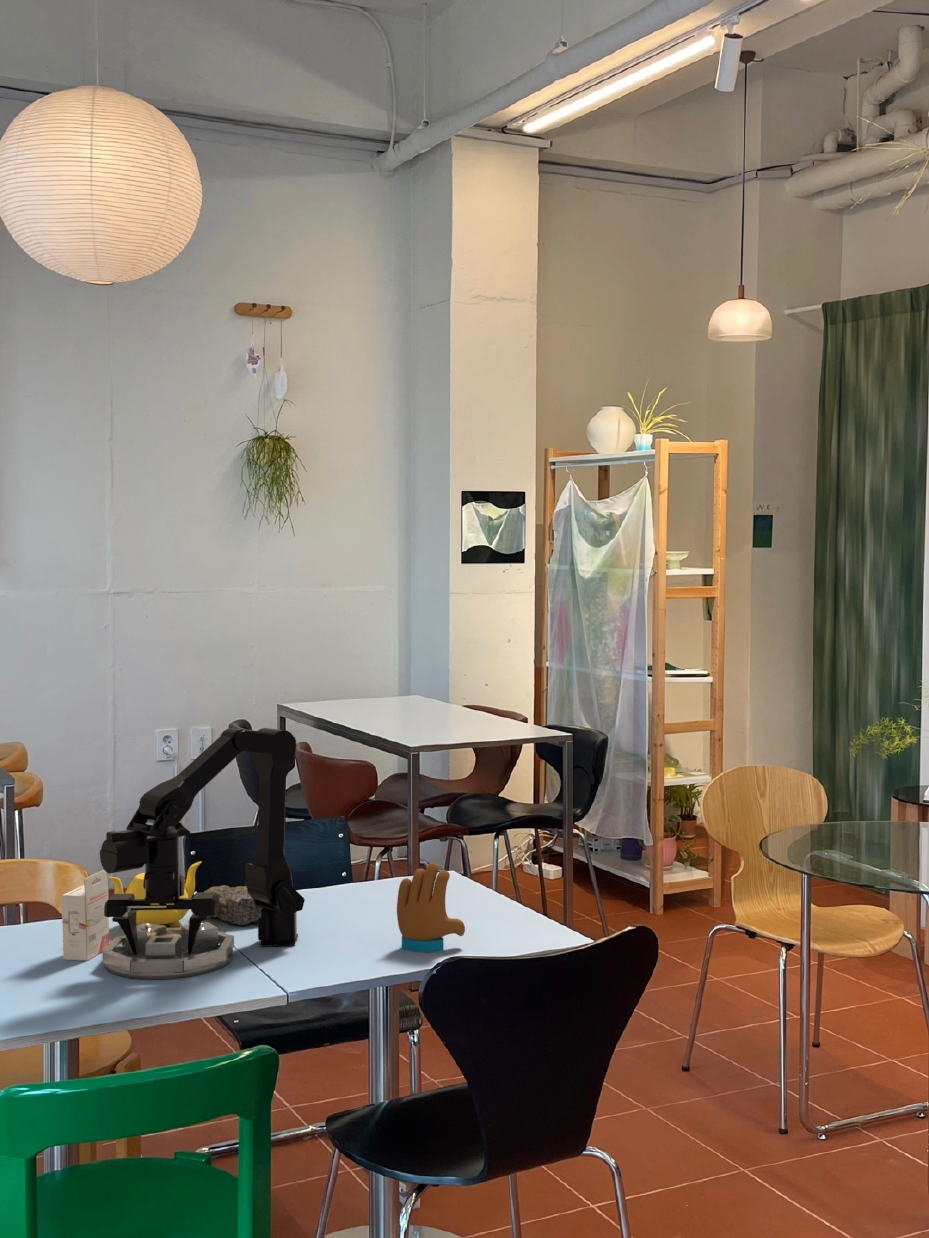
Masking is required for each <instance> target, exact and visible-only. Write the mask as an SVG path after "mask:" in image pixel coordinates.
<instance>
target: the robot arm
mask: <svg viewBox="0 0 929 1238" xmlns="http://www.w3.org/2000/svg"><path fill="white" fill-rule="evenodd" d="M243 752H251V759H252V763H253V765H254V768H255V771H256V773H257V774H258V779H259V780H258V781H259V782H258V783H259V784H258V810H257V811H258V814H257V847H256V848H257V852H256V856H255V858H254V859H253V861H252V863H245V867H244V869H245V870H244V871H245V880H244V882H243V883H244V884H243V885H244V886H245V887H246V886H247V892H248V894H249V895H250V896H251V897H252V898H253V900H254V903H255V906H256V907H261V908H262V910H261V915H260V916H259V918H258V923H257V939H258V941H259V946H260V947H265V946H266V947H270V946H272V947H273V946H274V947H276V946H279V947H281V946H282V947H283V946H295V945H296V943H297V940H298V937H299V933H297V931H298V930H297V927H298V926H297V923H298V922H297V912H301V911H303V908H304V905H305V901H306V900H305V898H304V897H303V896H302V895H301V894H300V892H299V891H297V889H295V888H294V887H293V878H292V870H291V868H290V865H289V863H288V860H287V859H286V856H285V832H286V831H285V827H286V825H285V823H286V796H287V795H286V792H287V791H286V790H287V789H286V785H287V777H288V776H289V775H288V774H289V773H290V771H291V770H292V767H293V765H294V763H295V758H296V752H297V739H296V737H295V736H294V734H293V733H292V732H290V731H289V730H285V729H276V728H269V727H262V728H260V729H258V730H257V731H256V732H254V731H248V730H245V729H241V728H232V727H229V728H227V729H225V730H223V731H222V732H221V734H220V736H219V737H218V738H217V739H216V740H214V742H212V743H211V744H210V745H209V746H208V747H207V748H206V749H205V750H203V752H201V753H200V754H199V755H198V756H197V757H196V758H195V759H194V760H193V761H191V763H189V764H188V765H187V766H186V767H185V768H184V769H183V770H182V771H180V772H179V774H177V775H175V776H174V777H173V778H170V779H168V780H166V781H163V782H161V783H158V784H157V785H156V786H154V787H152V788H151V789H149V790H148V791H146V792H145V793H144V794H143V795H142V796H141V797H140V799H139V807H138V808H137V810H136V811H135V813H134V814H133V816H132V818H131V819H130V821H129V823H128V825H127V826H126V830H120V831H115V830H113V831H107V832H106V836H105V837H106V839H105V840H104V841H103V842H102V844H101V849H100V850H99V860H100V863H101V866H102V868H103V869H102V870H105V871H106V872H107V874H109V875H110V874H113V873H115V874H116V873H121V872H126V871H127V872H128V871H130V870H138V869H141V868H143V867H144V873H145V875H144V884H143V887H144V889H145V899H135V896H134V893H129V894H125V893H124V894H114V893H113V895H111V896H110V897H108V900H107V901H106V902H105V906H104V916H105V917H109V918H111V920H112V923H113V922H114V923H118V925H119V927H120V928H121V930H122V932H123V933H124V936H125V935H126V937H127V939H128V942H129V944H130V946H131V948H132V951H133V953H134V955H137V954H138V936H137V927H136V913H137V910H186V909H189V910H190V911H191V915H190V917H189V919H188V920H189V922H188V925H189V935H188V954H191V953H192V950H193V947H194V943H195V940H196V937H197V934H198V930H199V928H200V925H201V923H202V922H204V921H205V922H206V921H208V920H209V918H210V917H209V916H211V915H215V914H216V912H217V910H218V909H219V907H220V905H219V895H218V894H217V893H216V892H196V893H195V894H193V896H192V897H191V898H180V896H183V895H184V885H185V883H186V877H185V876H183V875H181V870H180V867H181V866H180V837H185V836H186V837H187V836H190V835H191V831H190V829H189V830H188V829H187V828H186V827H185V826H184V825H183V823H182V822H181V821H182V820H183V818H185V816H186V814H187V813H188V812H189V811H190V810H191V808H192V806H193V803H194V801H195V797H197V795H199V793H200V792H201V790H203V789H204V788H205V787H206V786H207V785H208V784H209V783H210V782H211V781H212V780H214V779H215V778H216V776H218V775H219V774H220V773H221V772H222V771H223V770H224V769H225V768H226V767H227V766H228V765H230V764H231V763H232V762H233V761H234V759H236V758H237V757H238V756H240V754H241V753H243ZM148 823H149V824H148ZM151 824H152V825H151ZM156 903H158V904H159V905H151V904H156ZM167 904H174V905H167Z"/></svg>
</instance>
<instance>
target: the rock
mask: <svg viewBox="0 0 929 1238" xmlns="http://www.w3.org/2000/svg"><path fill="white" fill-rule="evenodd" d="M204 892H216V893H217V894H218V895H219V905H220V907H219V909H218V910H217V912H216V914H215V915H211V916H209V918H219V919H220V920H221V921H225V922H229V923H230V924H231V925H232V924H233V925H238V926H245V925H249V924H251V923H253V924H256V923H257V924H258V918H259V916H260V915H261V910H262V908H261V907H256V906H255V903H254V900H253V898H252V897H251V896H250V895H249V894H248V892H247V886H245V885H244V886H241V885H240V886H239V885H238V886H236V887H234V886H232V887H230V886H228V885H219V886H211V887H210V888H208V889H207V890H206V889H205V890H204Z"/></svg>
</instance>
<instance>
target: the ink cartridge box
mask: <svg viewBox="0 0 929 1238" xmlns="http://www.w3.org/2000/svg"><path fill="white" fill-rule="evenodd" d="M107 876H108V873H107V872H106V871H105V870H104V869H102V870H100V871H97V872H95V873H93V874H91V875H90V876H87V877H85V878H83V884H82V885H80V886H78V887H77V888H73V889H72V890H70V891H68V892H66V893H64V894H61V915H62V916H61V918H62V952H63V953H62V954H63V955H62V959H63V960H64V961H65V960H66V961H67V960H68V961H81V962H83V961H84V962H85V961H86V962H87V961H90V960H91V959H93V958H94V957H96V956H97V955H99V954H101V953H102V952H103V950H104V949H105V948H106V947H107V946H108V945H109V944H110V917H105V916H104V906H105V902H106V901H107V900H108V899H109V884H108V877H107ZM98 879H99V881H98V882H96V883H94V884H93V882H95V880H98Z"/></svg>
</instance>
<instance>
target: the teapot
mask: <svg viewBox="0 0 929 1238" xmlns="http://www.w3.org/2000/svg"><path fill="white" fill-rule="evenodd" d="M201 864H202V861H196V862H195V863H192V864H191V865H190V866H189V868H188V869H187V873H186V874H187V875H186V879H185V885H184V895H183V896H180V898H193V897H194V895H195V894H194V893H195V889H196V878H195V877H196V871H197V869H198V867H199V866H200V865H201ZM144 875H145V872H142V873H139V874H137V875H135V876H134V877H133V879H132V880H131V882H130V883H129V885H128V887H127V888H126V890H125V891H124V888H123V887H124V885H123V883H122V880H121V879H120V878H119V877H114V876H109V875H107V879H109V880H111V882H112V883H113V887H114V891H113V892H114V893H113V894H129V893H134V896H135V899H145V889H144V887H143V884H144ZM151 905H159V904H158V903H156V904H151ZM167 905H174V904H167ZM189 910H190V909H186V910H137V913H136V926H137V925H140V924H142V923H150V924H157V925H166V924H167V925H168V926H169V928H180V927H181V926H182V924H181V922H180V921H181V920H182V919H184V917H185V916H186V915H187V913H188V912H189Z"/></svg>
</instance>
